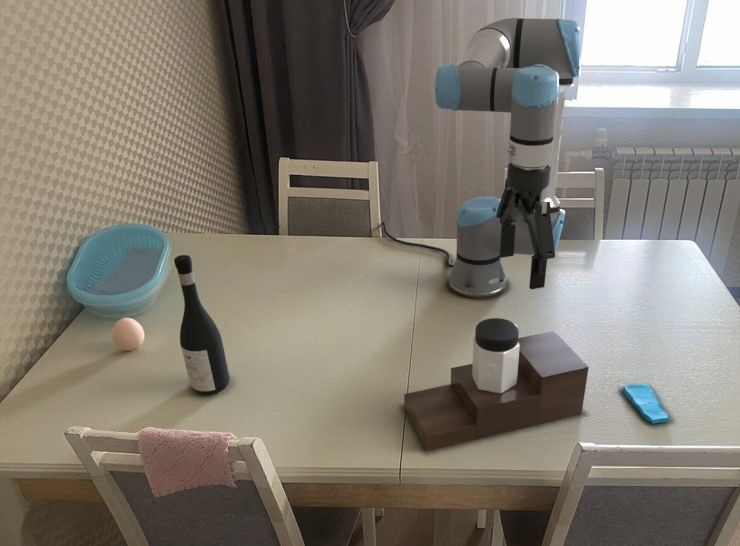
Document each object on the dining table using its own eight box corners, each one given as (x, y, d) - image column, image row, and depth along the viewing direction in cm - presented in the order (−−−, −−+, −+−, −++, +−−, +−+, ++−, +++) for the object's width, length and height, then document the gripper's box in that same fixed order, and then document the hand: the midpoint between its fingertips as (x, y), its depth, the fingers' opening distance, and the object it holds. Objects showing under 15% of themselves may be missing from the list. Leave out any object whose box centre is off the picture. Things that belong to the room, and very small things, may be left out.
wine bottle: (209, 401, 140) (179, 270, 124) (183, 389, 144) (150, 260, 127) (238, 381, 146) (213, 254, 129) (212, 370, 149) (184, 245, 133)
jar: (466, 388, 131) (468, 336, 125) (477, 365, 138) (479, 314, 131) (512, 397, 129) (516, 344, 123) (520, 373, 136) (525, 321, 129)
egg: (110, 353, 155) (101, 323, 151) (130, 338, 160) (122, 309, 156) (134, 358, 153) (125, 329, 149) (153, 343, 159) (145, 314, 154)
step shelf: (404, 407, 139) (402, 361, 132) (549, 375, 148) (554, 330, 142) (426, 451, 128) (426, 402, 121) (581, 413, 137) (588, 367, 130)
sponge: (642, 421, 133) (671, 416, 133) (621, 385, 143) (648, 381, 143) (641, 427, 134) (670, 422, 134) (621, 391, 144) (648, 386, 144)
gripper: (482, 144, 128) (478, 246, 140) (542, 191, 108) (531, 305, 120) (518, 140, 130) (511, 241, 142) (583, 185, 110) (569, 298, 122)
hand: (521, 271), depth 131 cm, fingers open, 13 cm apart
